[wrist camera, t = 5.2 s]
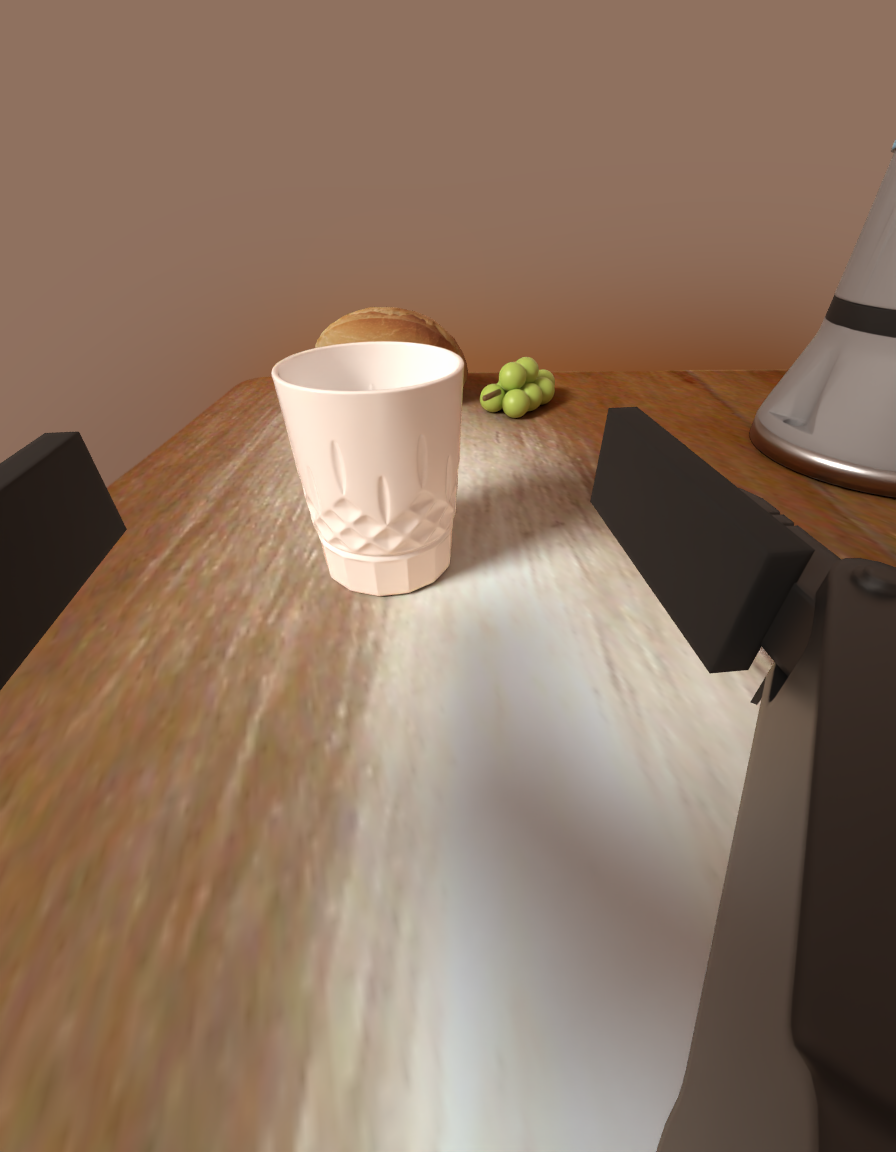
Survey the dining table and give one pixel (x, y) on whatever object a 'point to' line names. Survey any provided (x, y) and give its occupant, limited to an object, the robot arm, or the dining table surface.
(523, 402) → the grapes
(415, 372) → the white cup
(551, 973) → the dining table surface
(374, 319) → the bread roll
